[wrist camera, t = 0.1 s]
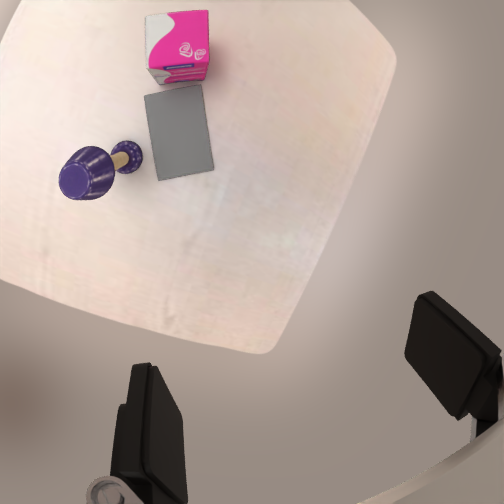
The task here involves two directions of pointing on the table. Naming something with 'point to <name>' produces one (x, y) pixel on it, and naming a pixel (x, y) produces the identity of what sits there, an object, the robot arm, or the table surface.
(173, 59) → the supplement box
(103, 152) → the toy lamp
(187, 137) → the mat
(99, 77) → the table surface
